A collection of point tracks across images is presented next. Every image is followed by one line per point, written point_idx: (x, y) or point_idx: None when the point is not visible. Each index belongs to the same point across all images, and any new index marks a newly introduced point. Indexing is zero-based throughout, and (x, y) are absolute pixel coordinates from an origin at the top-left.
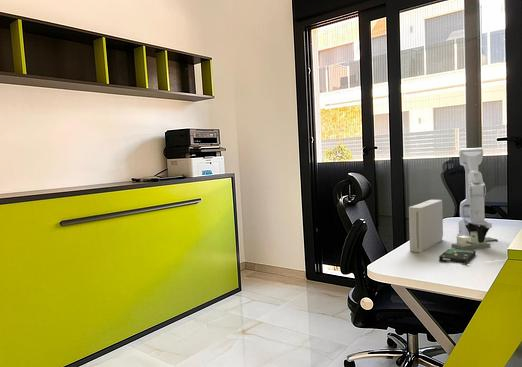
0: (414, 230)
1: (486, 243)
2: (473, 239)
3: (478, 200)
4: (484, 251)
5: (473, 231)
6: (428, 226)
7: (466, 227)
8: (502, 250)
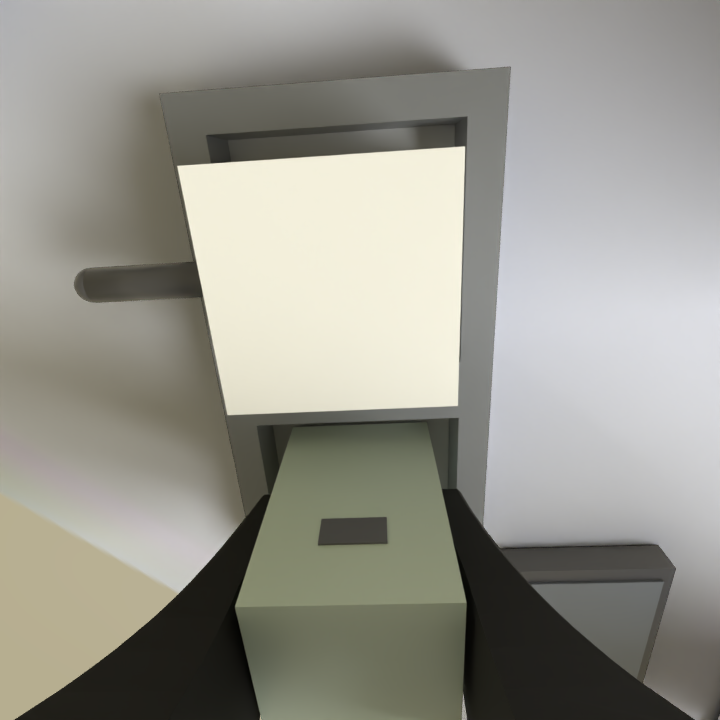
0: None
1: None
2: (362, 486)
3: None
4: (145, 403)
5: (459, 663)
6: None
7: (642, 693)
8: (152, 577)
